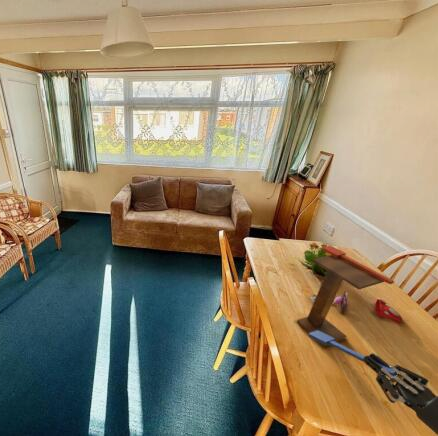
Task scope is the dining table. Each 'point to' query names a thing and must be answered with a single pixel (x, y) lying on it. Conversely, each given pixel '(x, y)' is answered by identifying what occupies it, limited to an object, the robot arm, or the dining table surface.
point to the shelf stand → (334, 293)
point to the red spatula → (355, 263)
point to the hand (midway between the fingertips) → (367, 356)
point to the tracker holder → (386, 311)
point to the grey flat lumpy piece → (313, 298)
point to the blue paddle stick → (341, 347)
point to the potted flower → (310, 256)
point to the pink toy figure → (341, 301)
